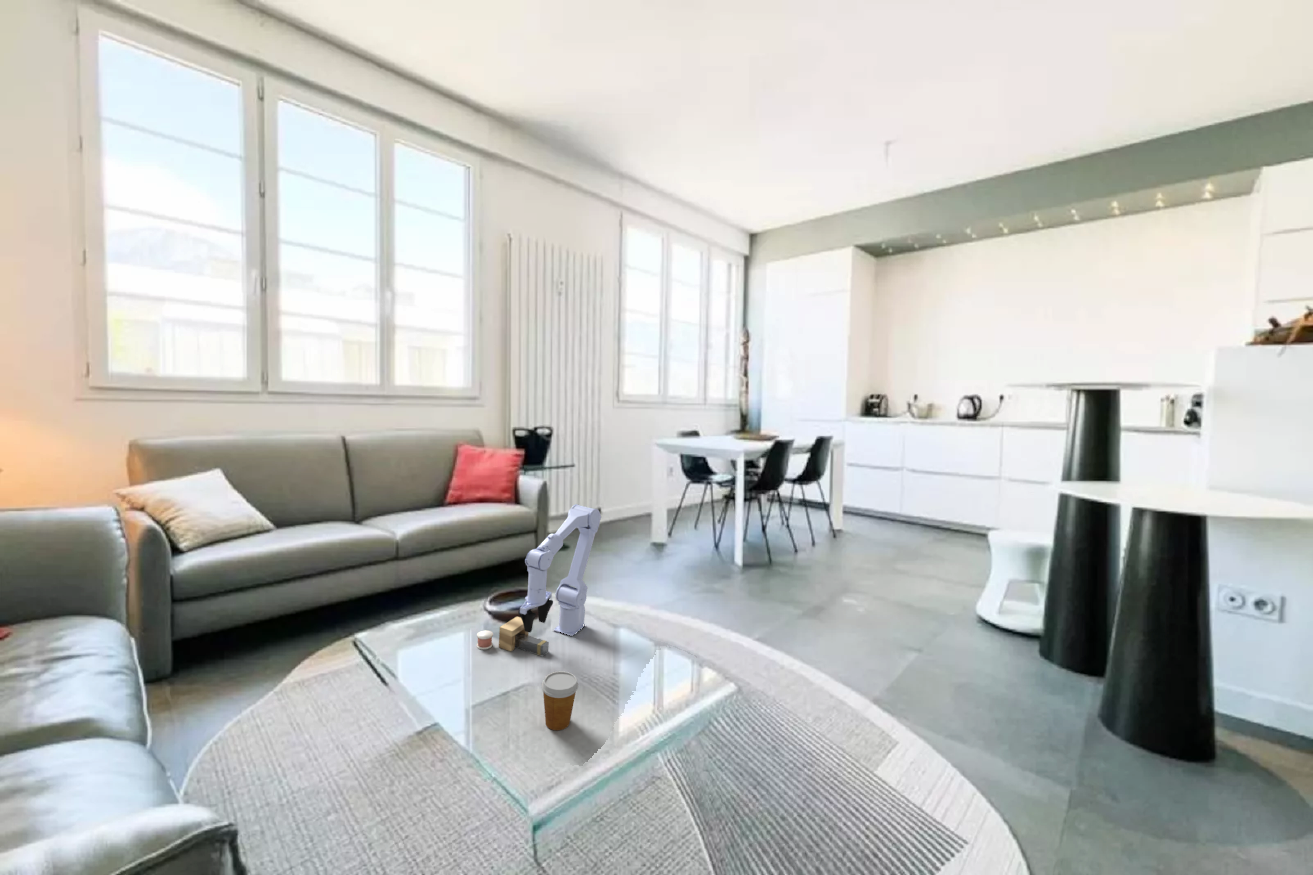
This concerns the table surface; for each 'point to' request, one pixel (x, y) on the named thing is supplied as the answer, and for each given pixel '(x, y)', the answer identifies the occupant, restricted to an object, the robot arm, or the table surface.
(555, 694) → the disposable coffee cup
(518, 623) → the wooden u-shaped cradle
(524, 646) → the dark grey bar
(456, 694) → the table surface
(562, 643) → the table surface
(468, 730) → the table surface
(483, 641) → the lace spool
